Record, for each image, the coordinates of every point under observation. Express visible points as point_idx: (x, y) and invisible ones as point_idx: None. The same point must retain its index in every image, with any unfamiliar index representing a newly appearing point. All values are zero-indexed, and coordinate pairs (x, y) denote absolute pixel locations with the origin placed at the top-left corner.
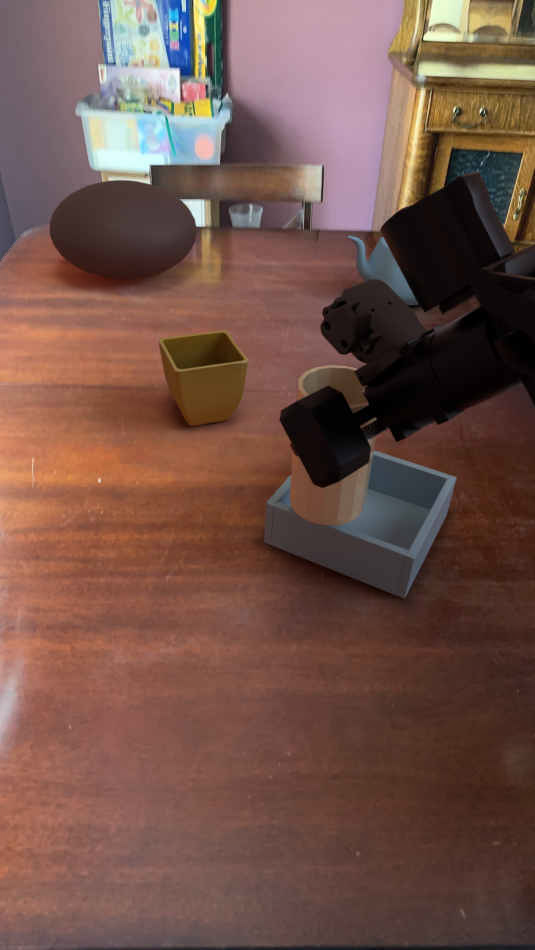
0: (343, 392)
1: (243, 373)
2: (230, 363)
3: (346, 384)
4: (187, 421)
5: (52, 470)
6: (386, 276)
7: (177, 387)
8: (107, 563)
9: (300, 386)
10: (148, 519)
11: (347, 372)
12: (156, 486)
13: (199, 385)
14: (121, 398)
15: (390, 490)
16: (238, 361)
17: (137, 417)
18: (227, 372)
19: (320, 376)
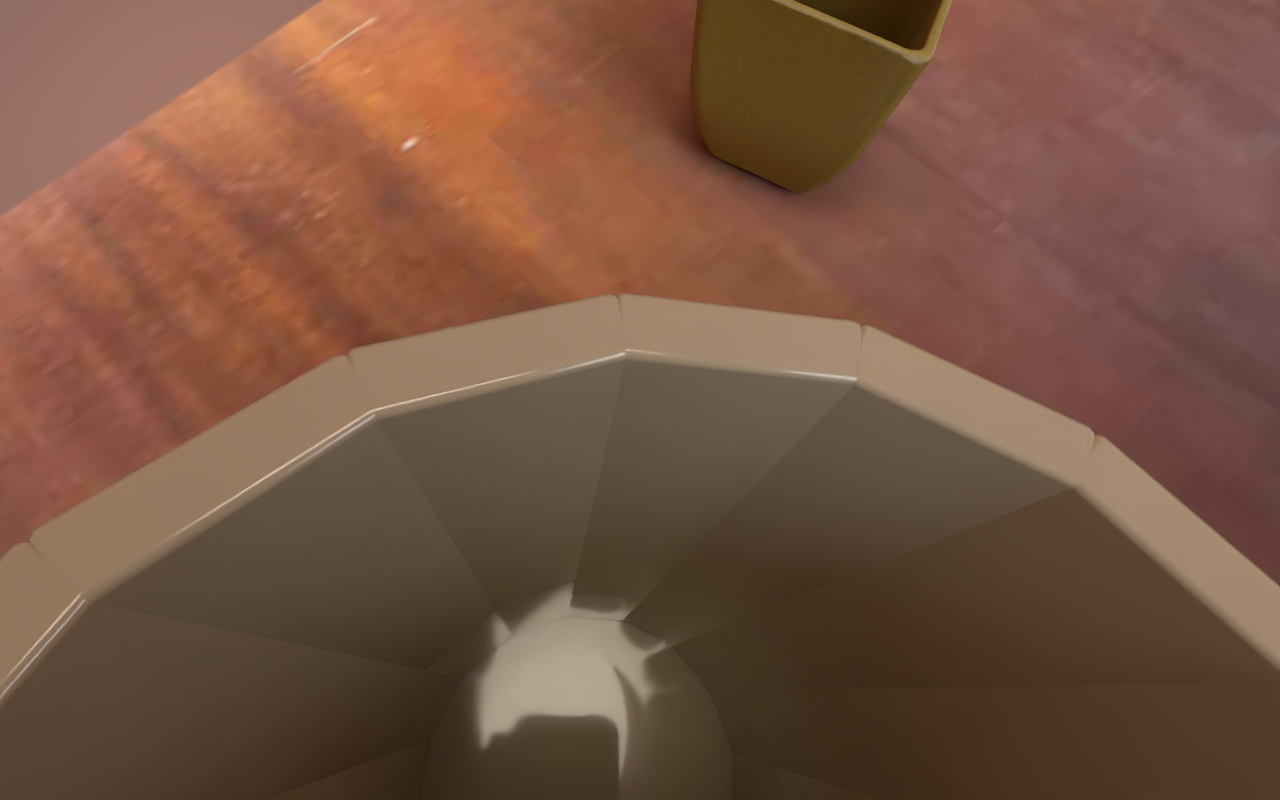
0: (982, 700)
1: (889, 94)
2: (867, 36)
3: (1078, 724)
4: (702, 137)
5: (368, 63)
6: None
7: (695, 25)
8: (167, 340)
9: (107, 532)
10: (369, 301)
11: (1249, 728)
12: (482, 237)
13: (751, 55)
14: (664, 9)
15: None
16: (897, 45)
17: (642, 65)
18: (844, 62)
19: (845, 453)
